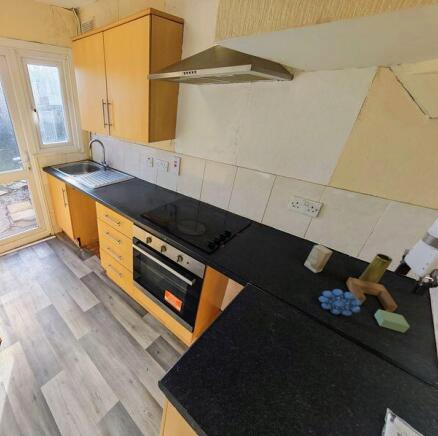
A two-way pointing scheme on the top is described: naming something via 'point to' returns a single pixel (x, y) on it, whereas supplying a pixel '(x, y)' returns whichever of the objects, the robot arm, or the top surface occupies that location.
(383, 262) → the vase
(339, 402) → the top surface
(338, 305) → the grapes
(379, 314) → the light green block
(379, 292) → the brown wooden u-shaped piece
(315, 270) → the cosmetic box
